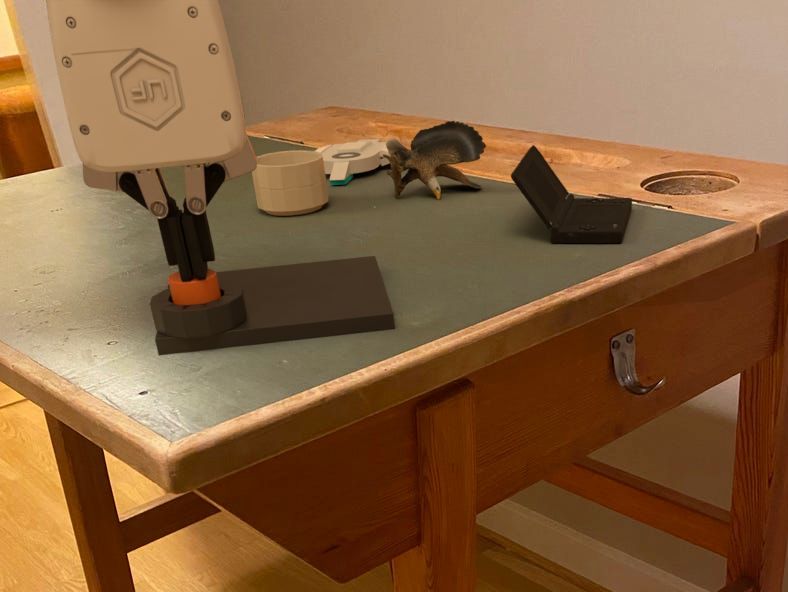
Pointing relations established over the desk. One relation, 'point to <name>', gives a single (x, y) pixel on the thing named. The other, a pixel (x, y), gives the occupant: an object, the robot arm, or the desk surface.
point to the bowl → (290, 182)
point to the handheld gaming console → (569, 205)
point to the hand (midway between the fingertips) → (195, 273)
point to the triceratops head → (435, 156)
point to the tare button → (194, 289)
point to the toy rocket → (352, 158)
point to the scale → (277, 306)
